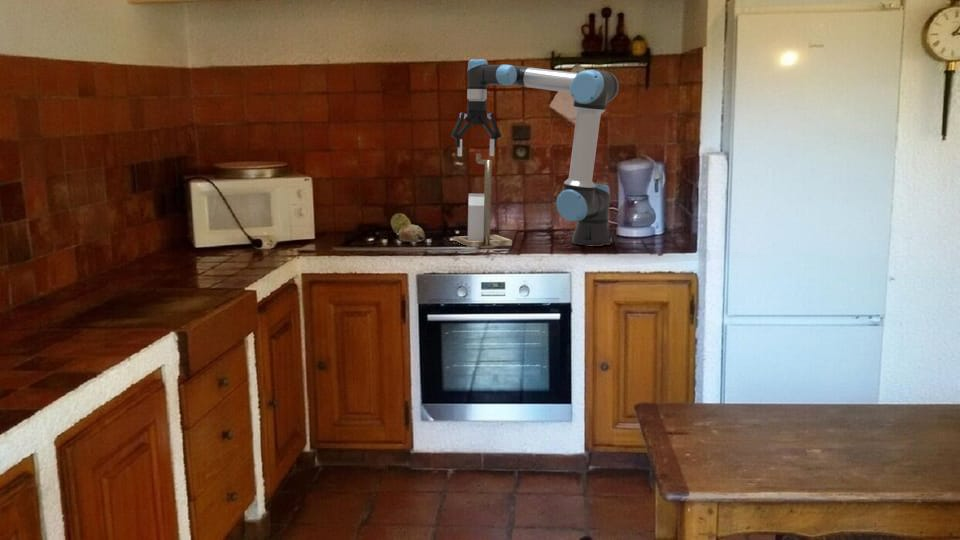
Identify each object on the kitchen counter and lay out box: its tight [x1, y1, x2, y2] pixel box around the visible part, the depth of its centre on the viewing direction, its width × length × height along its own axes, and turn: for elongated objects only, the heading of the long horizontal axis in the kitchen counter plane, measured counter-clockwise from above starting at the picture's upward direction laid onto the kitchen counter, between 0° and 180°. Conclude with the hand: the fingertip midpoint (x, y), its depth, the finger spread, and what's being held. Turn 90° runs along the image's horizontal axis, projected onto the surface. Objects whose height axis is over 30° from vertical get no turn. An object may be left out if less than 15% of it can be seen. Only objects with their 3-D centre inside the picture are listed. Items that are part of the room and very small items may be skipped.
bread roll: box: [396, 223, 426, 243], centre depth 353 cm, size 10×10×8 cm
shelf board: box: [452, 234, 513, 248], centre depth 348 cm, size 18×14×2 cm
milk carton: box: [467, 193, 484, 241], centre depth 345 cm, size 7×7×19 cm
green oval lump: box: [390, 212, 412, 235], centre depth 366 cm, size 8×13×8 cm, turn 7°
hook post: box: [475, 153, 495, 249], centre depth 340 cm, size 5×11×34 cm, turn 24°
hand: (475, 156), depth 359 cm, fingers open, 13 cm apart
